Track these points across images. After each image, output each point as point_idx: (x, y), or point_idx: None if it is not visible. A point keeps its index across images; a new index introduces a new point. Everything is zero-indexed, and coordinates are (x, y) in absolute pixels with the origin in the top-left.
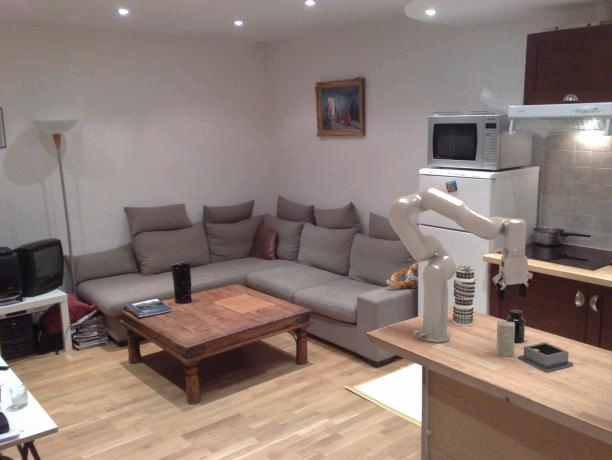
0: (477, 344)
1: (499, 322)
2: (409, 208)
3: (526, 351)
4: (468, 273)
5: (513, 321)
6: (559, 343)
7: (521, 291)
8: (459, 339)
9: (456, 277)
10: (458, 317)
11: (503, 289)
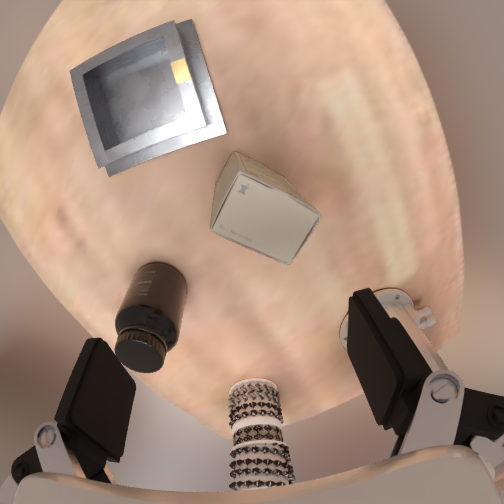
0: (297, 270)
1: (295, 240)
2: None
3: (203, 111)
4: None
5: (163, 316)
6: (49, 244)
7: (113, 401)
8: (326, 308)
9: None
10: (275, 398)
11: (404, 393)
